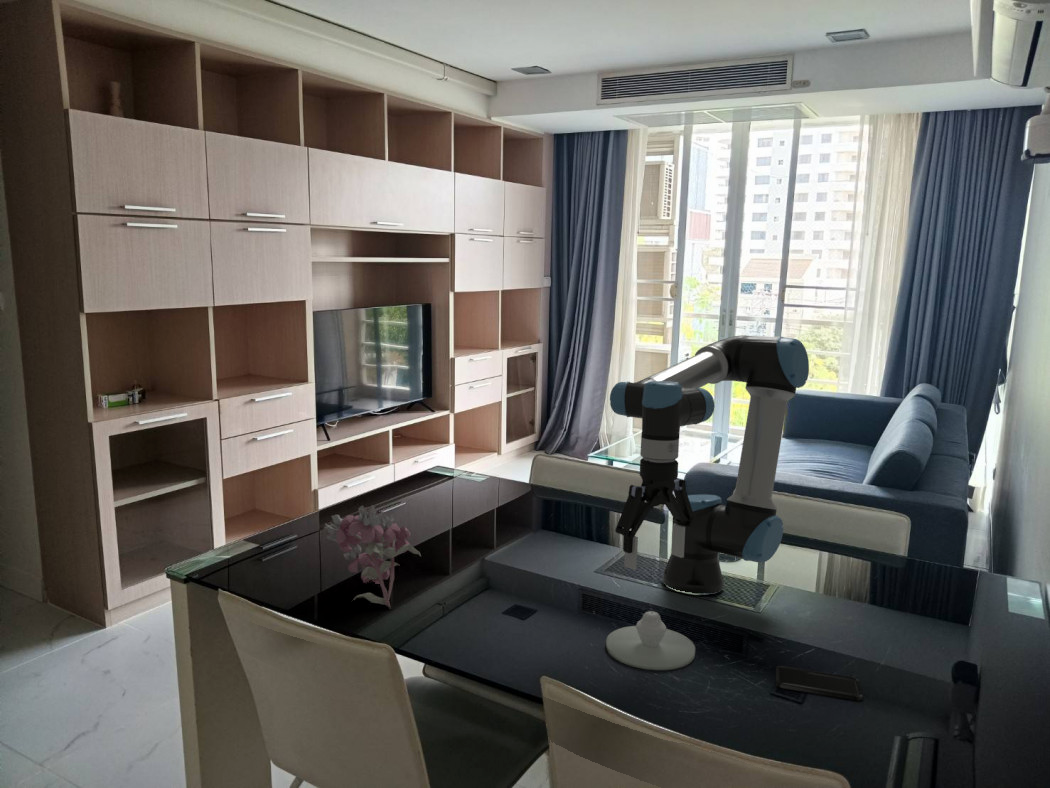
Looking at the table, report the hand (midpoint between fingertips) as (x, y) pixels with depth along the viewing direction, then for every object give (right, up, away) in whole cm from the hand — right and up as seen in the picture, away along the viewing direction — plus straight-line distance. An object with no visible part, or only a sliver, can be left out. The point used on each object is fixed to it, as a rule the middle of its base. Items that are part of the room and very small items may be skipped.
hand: (654, 561), depth 154 cm
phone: (+29, -21, -11) cm, 37 cm away
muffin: (-1, -18, +2) cm, 18 cm away
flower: (-63, -14, +29) cm, 71 cm away
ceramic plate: (-1, -19, +2) cm, 19 cm away
